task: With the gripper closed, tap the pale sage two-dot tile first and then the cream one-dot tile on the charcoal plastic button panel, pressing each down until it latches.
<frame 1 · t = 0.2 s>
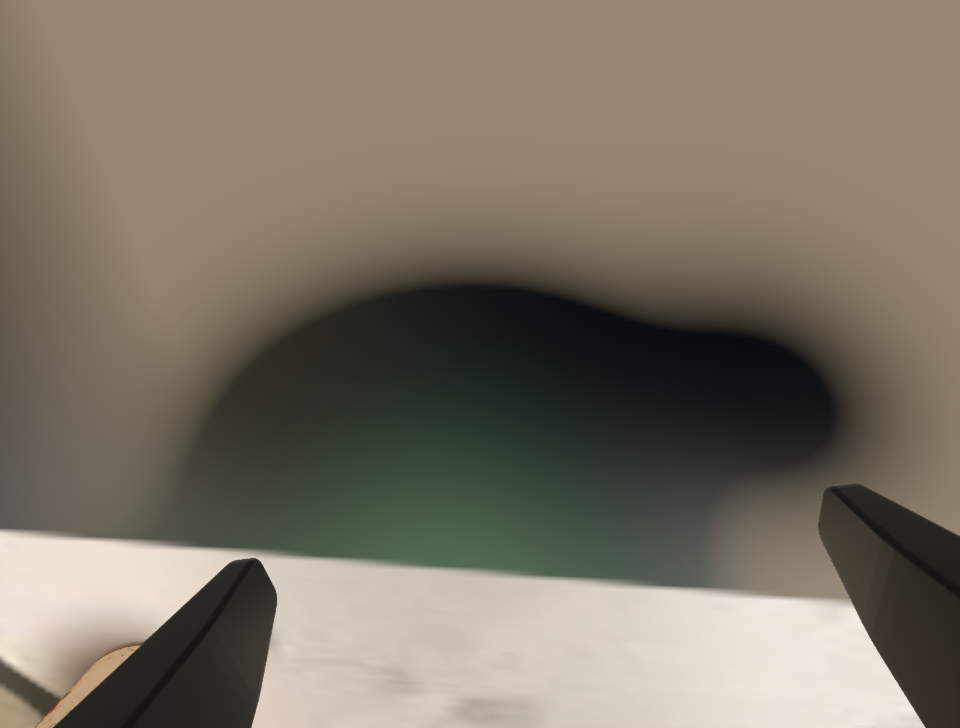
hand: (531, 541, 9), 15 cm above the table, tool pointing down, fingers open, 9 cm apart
teacup with lid: (168, 723, 30), on the table
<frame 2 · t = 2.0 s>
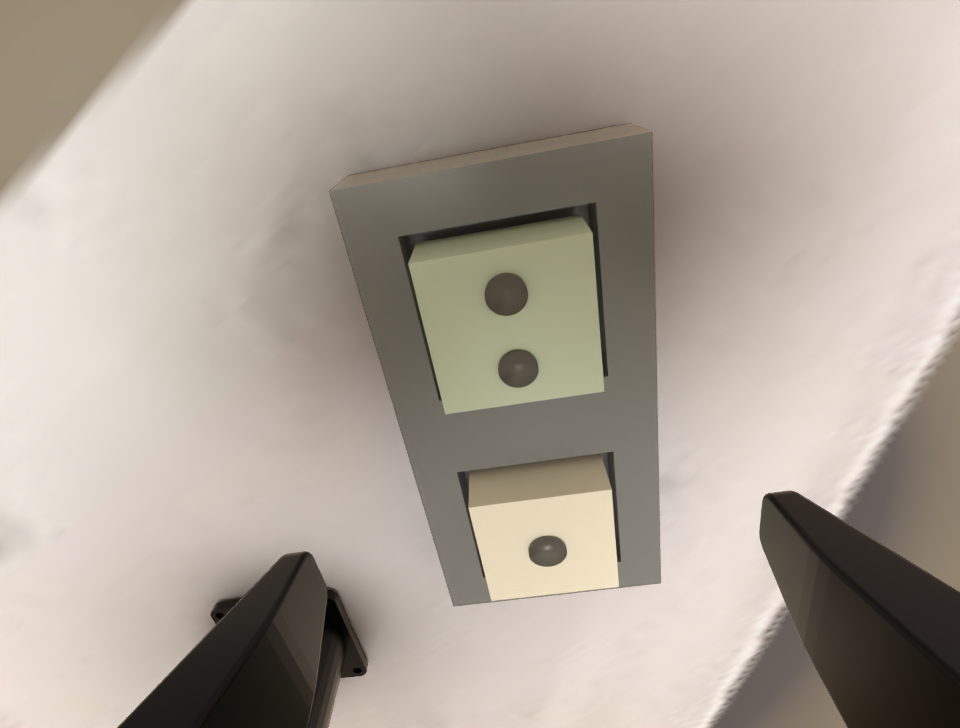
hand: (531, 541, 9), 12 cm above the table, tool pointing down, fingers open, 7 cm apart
sage tile two: (510, 318, 16), point 3 cm above the table, slide at 0.0 cm
panel: (523, 389, 21), on the table
cream tile one: (544, 530, 21), point 3 cm above the table, slide at 0.0 cm
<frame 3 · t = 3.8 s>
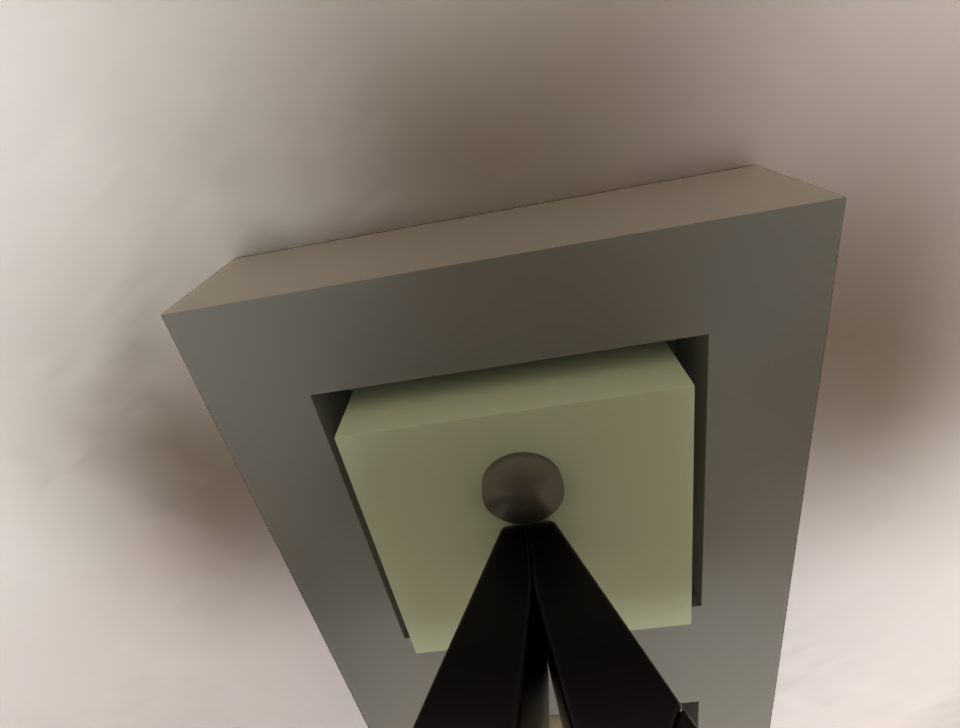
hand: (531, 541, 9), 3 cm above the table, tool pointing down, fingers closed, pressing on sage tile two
sage tile two: (528, 501, 9), point 2 cm above the table, slide at 0.9 cm, touching gripper
panel: (546, 572, 13), on the table
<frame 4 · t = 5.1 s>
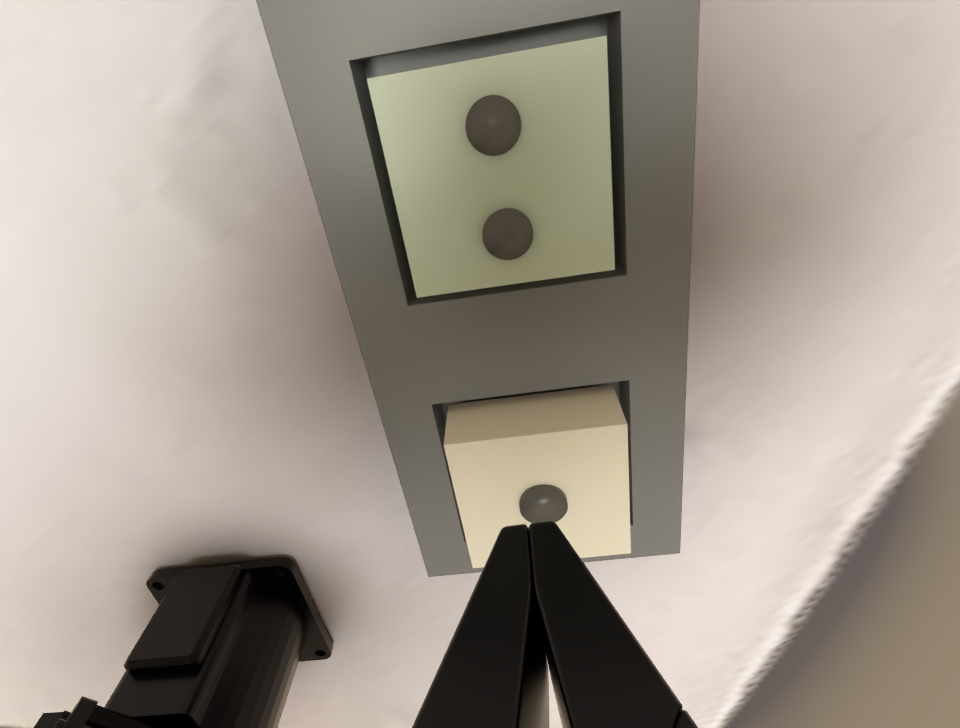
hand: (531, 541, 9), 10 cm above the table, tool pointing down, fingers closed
sage tile two: (500, 174, 13), point 2 cm above the table, slide at 1.0 cm
panel: (518, 308, 17), on the table
cream tile one: (540, 481, 17), point 3 cm above the table, slide at 0.0 cm
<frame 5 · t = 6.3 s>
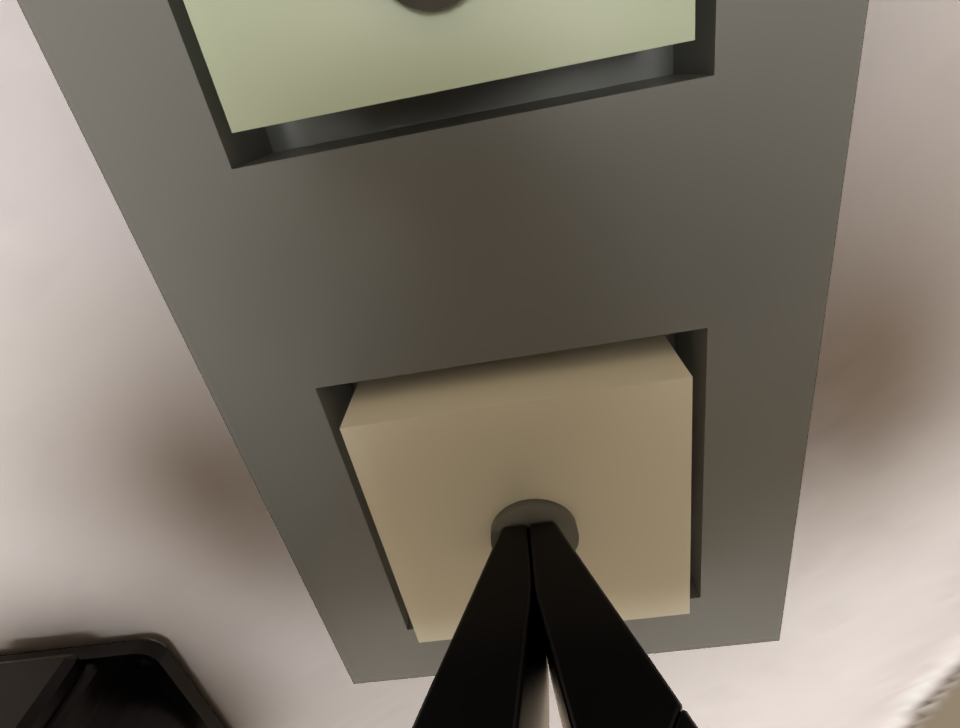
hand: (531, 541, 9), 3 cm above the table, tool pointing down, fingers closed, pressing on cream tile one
panel: (485, 210, 9), on the table
cream tile one: (529, 492, 10), point 2 cm above the table, slide at 0.9 cm, touching gripper
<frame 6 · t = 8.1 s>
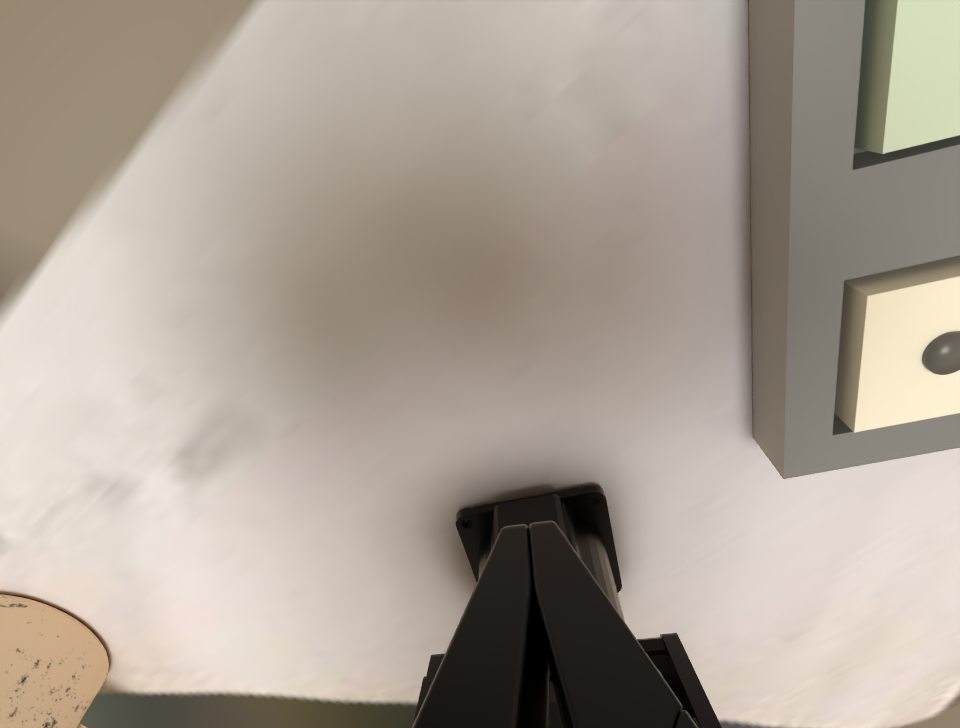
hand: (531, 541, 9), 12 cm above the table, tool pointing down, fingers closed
panel: (897, 185, 17), on the table
teacup with lid: (56, 653, 29), on the table
cream tile one: (925, 338, 17), point 2 cm above the table, slide at 1.0 cm, touching panel
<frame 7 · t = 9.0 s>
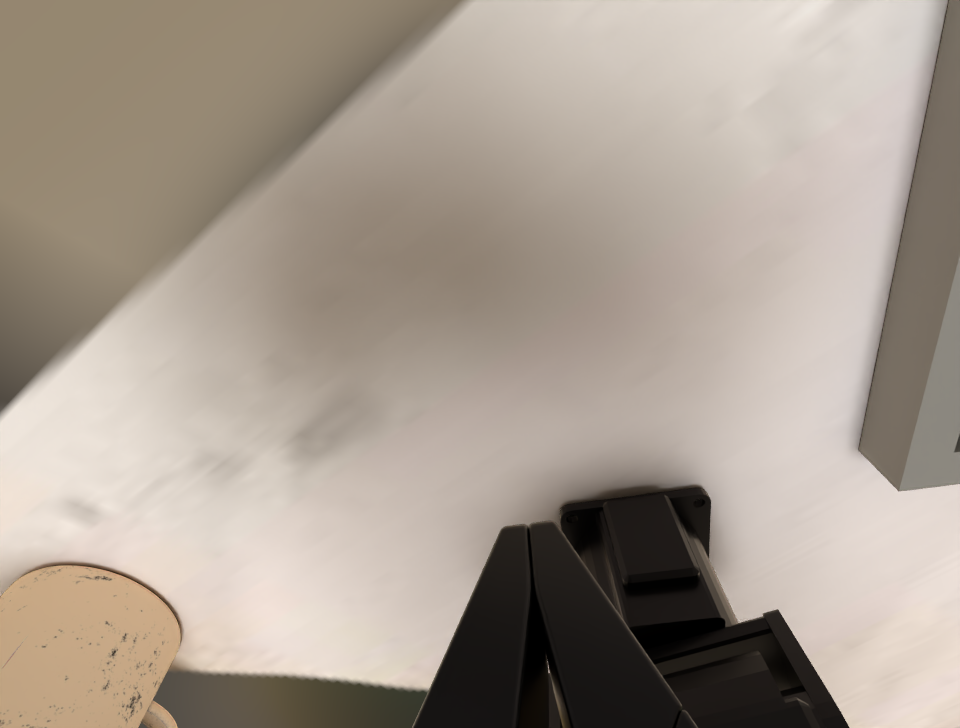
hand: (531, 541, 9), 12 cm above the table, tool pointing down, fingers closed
teacup with lid: (125, 628, 29), on the table
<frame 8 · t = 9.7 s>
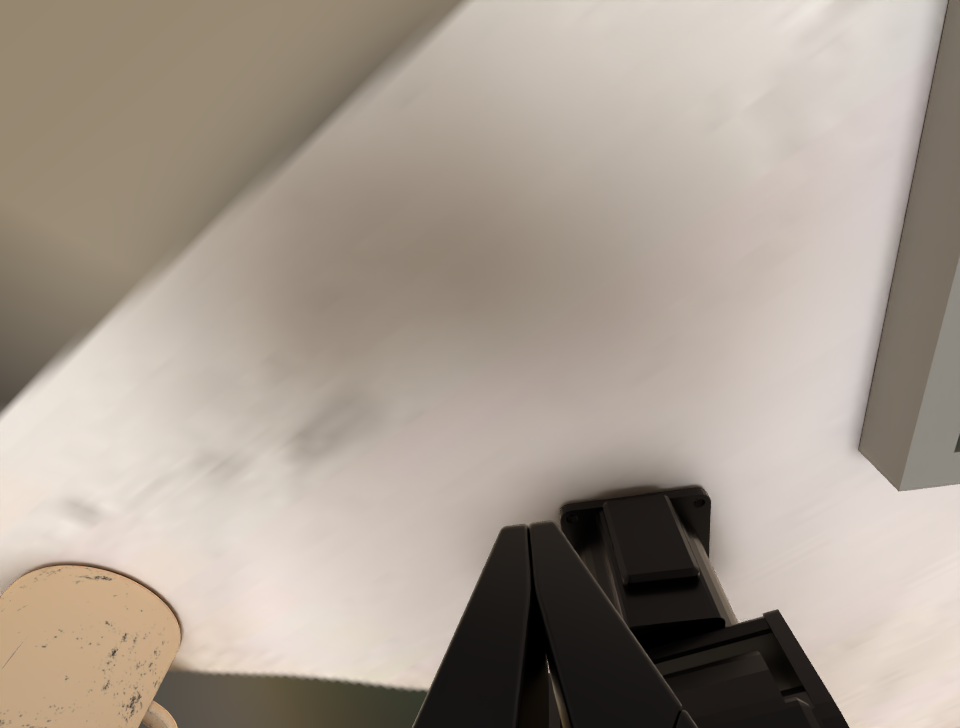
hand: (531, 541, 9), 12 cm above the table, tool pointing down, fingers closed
teacup with lid: (125, 628, 29), on the table
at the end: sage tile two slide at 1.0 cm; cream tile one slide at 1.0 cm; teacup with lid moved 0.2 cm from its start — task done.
